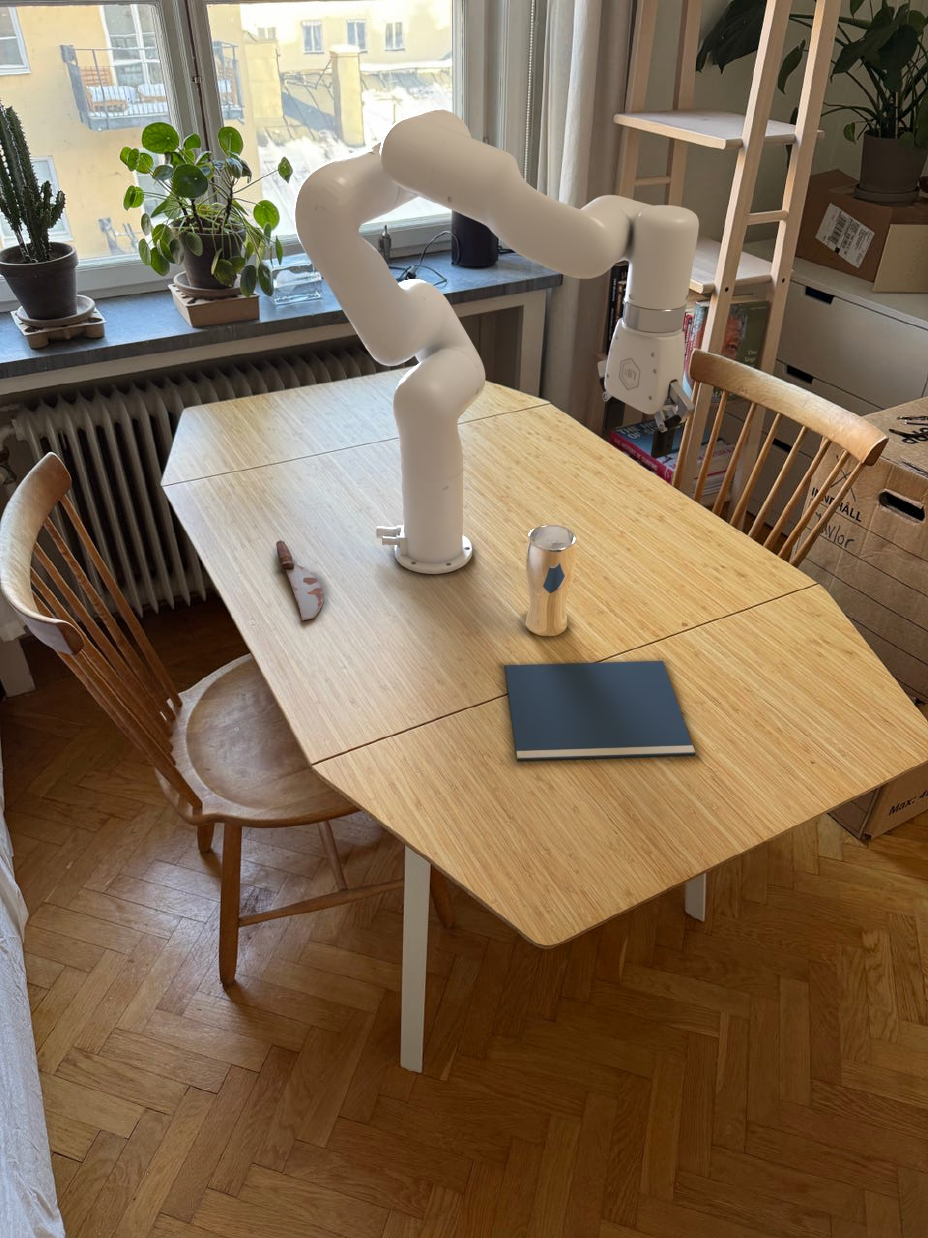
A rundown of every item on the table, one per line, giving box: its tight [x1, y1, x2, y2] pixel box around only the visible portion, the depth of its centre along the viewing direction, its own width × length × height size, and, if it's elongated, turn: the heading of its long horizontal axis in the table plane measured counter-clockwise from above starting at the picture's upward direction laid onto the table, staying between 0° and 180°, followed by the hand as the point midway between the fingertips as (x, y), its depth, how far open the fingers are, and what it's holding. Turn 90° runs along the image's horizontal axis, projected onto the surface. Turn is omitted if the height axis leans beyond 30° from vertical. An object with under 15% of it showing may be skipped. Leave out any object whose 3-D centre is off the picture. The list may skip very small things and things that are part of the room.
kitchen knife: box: [275, 539, 325, 621], centre depth 143 cm, size 21×2×5 cm
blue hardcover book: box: [504, 660, 696, 762], centre depth 120 cm, size 22×18×1 cm
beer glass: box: [525, 524, 578, 637], centre depth 130 cm, size 7×7×15 cm
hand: (635, 441), depth 125 cm, fingers open, 9 cm apart
